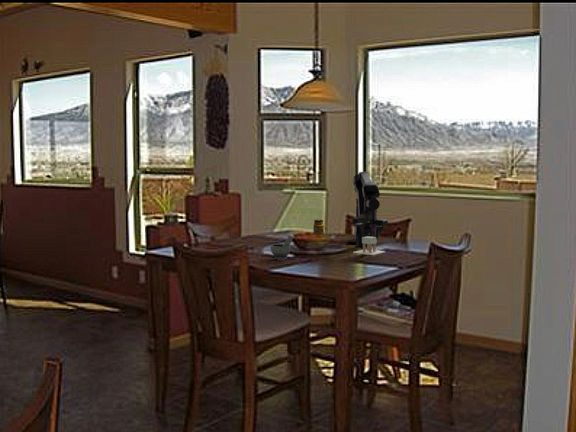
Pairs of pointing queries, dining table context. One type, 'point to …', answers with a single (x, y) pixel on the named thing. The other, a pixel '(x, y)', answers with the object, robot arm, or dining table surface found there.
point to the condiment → (318, 227)
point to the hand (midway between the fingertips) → (369, 238)
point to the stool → (369, 243)
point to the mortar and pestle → (282, 249)
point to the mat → (368, 252)
